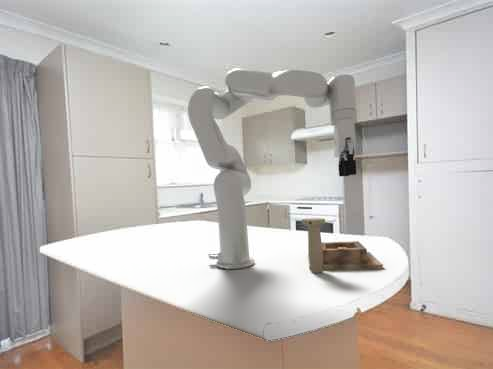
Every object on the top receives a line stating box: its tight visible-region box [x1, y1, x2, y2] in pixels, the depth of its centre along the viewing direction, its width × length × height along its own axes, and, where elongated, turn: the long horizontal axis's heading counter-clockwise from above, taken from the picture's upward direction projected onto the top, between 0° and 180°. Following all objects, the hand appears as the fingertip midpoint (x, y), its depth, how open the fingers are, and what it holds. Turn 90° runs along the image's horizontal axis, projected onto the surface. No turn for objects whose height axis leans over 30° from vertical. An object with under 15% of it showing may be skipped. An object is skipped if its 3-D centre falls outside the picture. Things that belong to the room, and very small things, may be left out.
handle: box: [301, 217, 326, 274], centre depth 82 cm, size 5×6×15 cm
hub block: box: [307, 240, 384, 271], centre depth 90 cm, size 20×16×6 cm
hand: (347, 175), depth 86 cm, fingers open, 9 cm apart
